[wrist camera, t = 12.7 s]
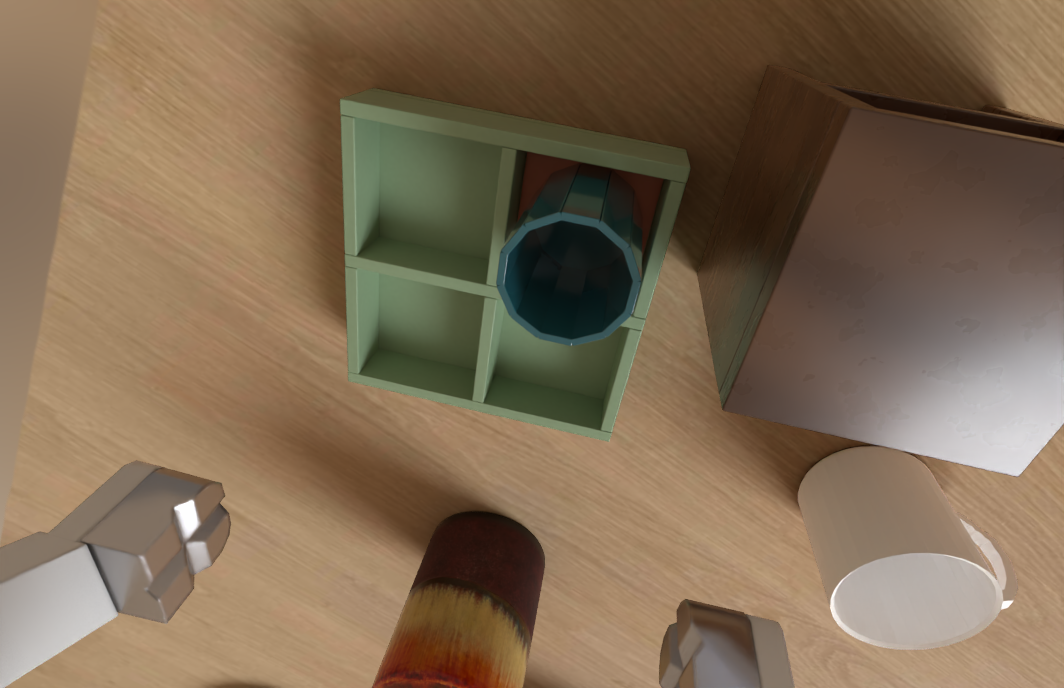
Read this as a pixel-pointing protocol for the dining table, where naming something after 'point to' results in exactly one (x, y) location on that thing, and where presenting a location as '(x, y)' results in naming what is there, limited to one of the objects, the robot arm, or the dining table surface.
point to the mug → (900, 552)
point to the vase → (468, 608)
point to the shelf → (892, 273)
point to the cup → (574, 257)
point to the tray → (479, 257)
